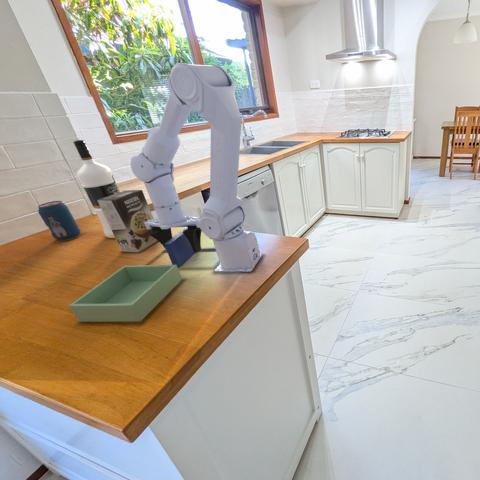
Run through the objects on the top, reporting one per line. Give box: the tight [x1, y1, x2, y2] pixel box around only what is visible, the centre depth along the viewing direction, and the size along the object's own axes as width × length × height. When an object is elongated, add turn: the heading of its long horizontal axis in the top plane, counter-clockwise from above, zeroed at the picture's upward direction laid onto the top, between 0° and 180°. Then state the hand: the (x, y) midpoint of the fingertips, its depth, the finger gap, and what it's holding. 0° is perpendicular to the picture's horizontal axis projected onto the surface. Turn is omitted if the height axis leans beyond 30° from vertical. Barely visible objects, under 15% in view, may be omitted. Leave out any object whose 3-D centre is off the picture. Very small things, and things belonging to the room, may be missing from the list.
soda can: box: [37, 200, 82, 242], centre depth 95 cm, size 7×7×12 cm
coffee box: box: [97, 189, 158, 253], centre depth 84 cm, size 9×6×16 cm
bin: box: [68, 264, 183, 323], centre depth 63 cm, size 13×14×4 cm
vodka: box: [72, 139, 121, 239], centre depth 90 cm, size 9×9×30 cm
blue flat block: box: [163, 227, 196, 269], centre depth 77 cm, size 2×10×7 cm, turn 176°
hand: (185, 251), depth 77 cm, fingers open, 6 cm apart
